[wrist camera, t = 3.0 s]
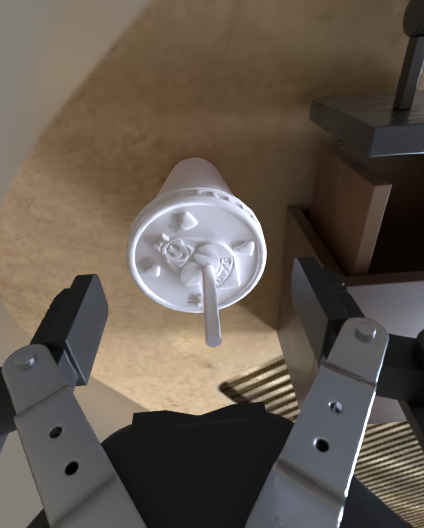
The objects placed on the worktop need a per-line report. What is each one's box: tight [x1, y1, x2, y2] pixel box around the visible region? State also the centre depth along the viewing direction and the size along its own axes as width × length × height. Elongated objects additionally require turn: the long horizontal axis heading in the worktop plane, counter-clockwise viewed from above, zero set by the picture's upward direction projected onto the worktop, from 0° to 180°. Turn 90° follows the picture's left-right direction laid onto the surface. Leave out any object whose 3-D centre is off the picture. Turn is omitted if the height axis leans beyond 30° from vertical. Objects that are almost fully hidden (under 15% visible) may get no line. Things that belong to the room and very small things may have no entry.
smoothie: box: [126, 158, 267, 347], centre depth 16 cm, size 6×6×14 cm
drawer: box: [309, 0, 424, 277], centre depth 18 cm, size 17×11×8 cm
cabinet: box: [277, 204, 424, 424], centre depth 24 cm, size 14×13×10 cm
